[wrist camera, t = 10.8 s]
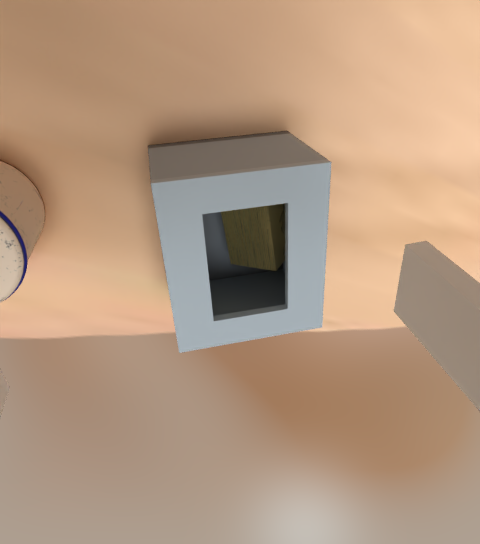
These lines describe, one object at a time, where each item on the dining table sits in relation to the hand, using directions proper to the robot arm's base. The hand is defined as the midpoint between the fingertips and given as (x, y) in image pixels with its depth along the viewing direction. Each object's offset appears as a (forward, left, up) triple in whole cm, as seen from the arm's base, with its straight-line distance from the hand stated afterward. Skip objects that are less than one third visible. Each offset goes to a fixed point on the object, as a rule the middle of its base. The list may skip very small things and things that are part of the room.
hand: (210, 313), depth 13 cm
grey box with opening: (+8, +4, -26) cm, 27 cm away
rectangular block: (+8, +5, -23) cm, 25 cm away
